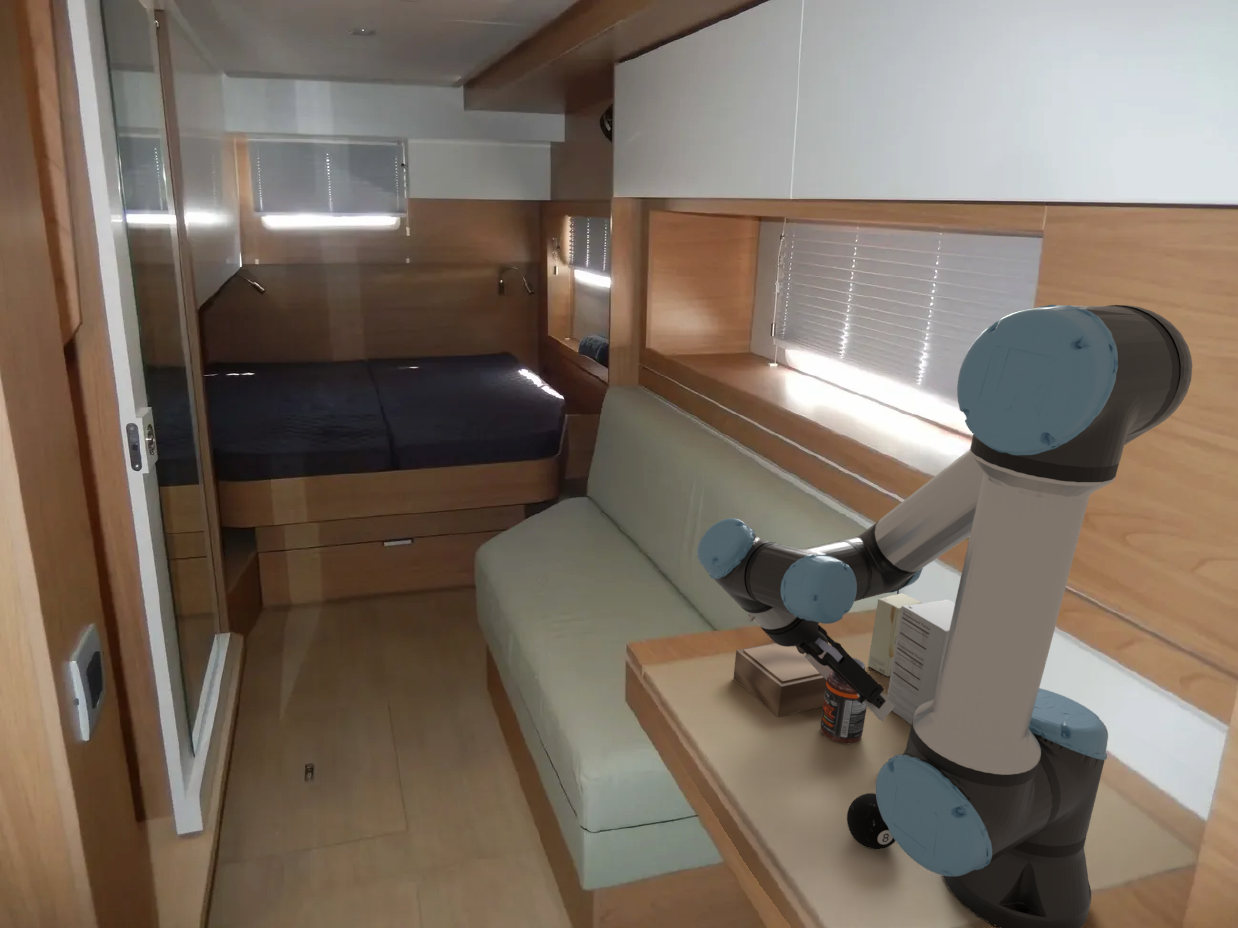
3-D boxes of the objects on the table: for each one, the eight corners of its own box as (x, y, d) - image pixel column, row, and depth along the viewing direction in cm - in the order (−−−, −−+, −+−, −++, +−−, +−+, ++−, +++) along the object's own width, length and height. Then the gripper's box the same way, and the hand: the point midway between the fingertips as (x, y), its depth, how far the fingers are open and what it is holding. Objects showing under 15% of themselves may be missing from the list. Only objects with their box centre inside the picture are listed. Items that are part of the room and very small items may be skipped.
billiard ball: (858, 862, 102) (865, 817, 101) (836, 827, 108) (842, 785, 106) (906, 857, 103) (913, 813, 102) (881, 823, 109) (888, 781, 107)
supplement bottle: (811, 725, 130) (821, 654, 127) (847, 720, 132) (857, 650, 129) (833, 748, 124) (843, 675, 121) (870, 742, 126) (881, 670, 123)
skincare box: (886, 677, 145) (897, 608, 142) (866, 666, 148) (876, 598, 145) (912, 668, 148) (923, 601, 145) (892, 657, 152) (902, 591, 148)
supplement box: (926, 738, 128) (944, 631, 124) (883, 706, 136) (898, 604, 132) (976, 726, 132) (995, 622, 127) (931, 695, 140) (948, 596, 136)
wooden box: (842, 701, 137) (846, 670, 135) (777, 716, 131) (781, 684, 130) (794, 665, 147) (798, 636, 146) (733, 678, 142) (736, 648, 140)
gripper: (715, 594, 126) (792, 674, 137) (818, 670, 106) (899, 756, 117) (750, 555, 127) (824, 637, 138) (858, 623, 107) (935, 713, 118)
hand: (858, 692), depth 127 cm, fingers open, 11 cm apart
